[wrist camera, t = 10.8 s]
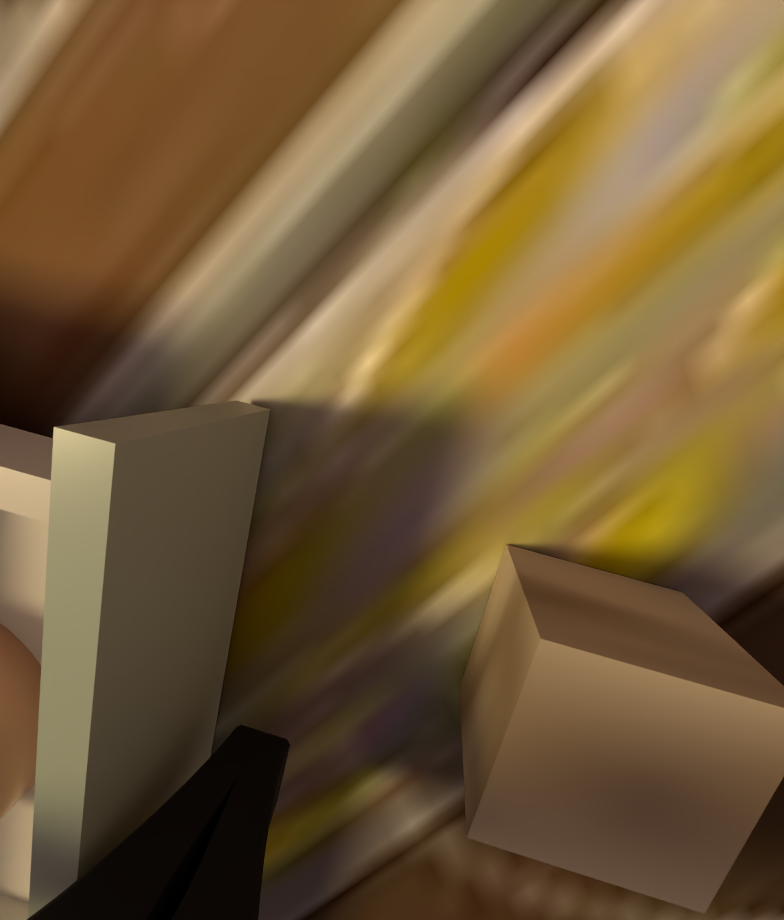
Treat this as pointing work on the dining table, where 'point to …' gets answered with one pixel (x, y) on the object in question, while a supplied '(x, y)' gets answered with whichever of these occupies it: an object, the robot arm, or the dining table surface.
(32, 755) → the rounded lump
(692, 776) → the block
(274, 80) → the dining table surface
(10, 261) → the dining table surface
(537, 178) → the dining table surface
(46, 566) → the pull-out drawer
